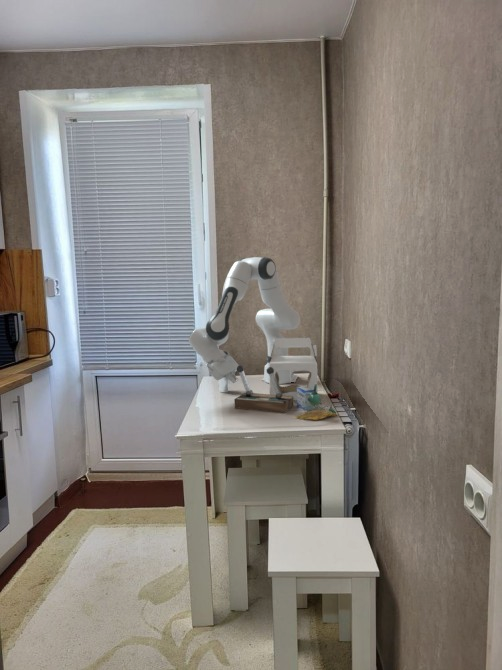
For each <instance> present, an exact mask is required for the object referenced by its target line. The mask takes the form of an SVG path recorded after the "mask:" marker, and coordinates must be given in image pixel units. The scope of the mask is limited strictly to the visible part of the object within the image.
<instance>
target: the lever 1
mask: <svg viewBox="0 0 502 670" xmlns="http://www.w3.org/2000/svg"><path fill="white" fill-rule="evenodd" d="M238 365H239V364H238ZM244 370H245V367H244V366H243V365H239V366H238V367H237V371H236V372H237V373H238V374H239V375H240V378H241V382H242V384H243V387H244V388H243V389H244V390H245V392H244V393H245V394H246V396H248V397H249V396H251V395H252V394H253V393H254V392H253V390H251V388H250V385H249V382H248V380H247V376H246V374H245V371H244Z"/></svg>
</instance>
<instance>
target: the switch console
mask: <svg viewBox="0 0 502 670" xmlns="http://www.w3.org/2000/svg"><path fill="white" fill-rule="evenodd" d="M245 393H246V392H243V393H242V394H241V395H239V396H236V398H234V409H243V410H252V411H261V412H273V413H275V412H276V413H283V414H285V413H287V412H288V411H289V410H290V409H291V408H292V407H293V406H294V400H293V396H282V397H281V398H280V399H277V398H276V395H270V393H268V394H267V393H255V392H253V394H252V395H251V396H249V397H248V396H246V394H245Z"/></svg>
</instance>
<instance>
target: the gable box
mask: <svg viewBox="0 0 502 670" xmlns="http://www.w3.org/2000/svg"><path fill="white" fill-rule="evenodd" d="M277 348H288V349H291V348H292V349H293V348H295V349H297V348H298V349H299V348H300V349H301V348H303V349H309V352H310V354H309V355H290V356H276V349H277ZM269 356H272V357H271V358H270V362H269V367H272V368H273V369H274V372H273V373H274V375H275V378H276V381H277V384H278V387H279V389H280V392H281V393H282V394H283V396H293V401H297V387H301V385H297V384H291V385H285V386H281V385H280V384H279V376H278V373H277V371H279V370H290V371H294V372H301V371H302V372H303V371H307V372H309V374H308V377H307V383H308V384H307V385H306V387H308V388H310V389H312V390H314V385H315V384H317V385H318V360H317V357H318V351H317V344H313V343H312V340H311V338H310V337H285V338H276V339H275V344H274V346H272V345H270V351H269ZM268 384H269V386H268V387H269V394H270V395H276V392H275V390H274V387H273V384H272V381H271V379H270V376H269V383H268ZM316 392H317V393H318V387H317V388H316Z"/></svg>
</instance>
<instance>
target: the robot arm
mask: <svg viewBox="0 0 502 670" xmlns="http://www.w3.org/2000/svg"><path fill="white" fill-rule="evenodd" d="M250 281H257V284H258V288H259V292H260V297H261V300H262V302H263V303H264V305H266V306H267V307H269V308H264V309H260V310H258V311H257V312H256V315H255V323H256V325H257V327H259V328H260V329H261V330H262V332H263V334H264V336H265V339H266V345H267V346H266V347H267V355H266V362H267V363H266V364H265V365H264V373H263V374H264V375H263V376H264V377H262V378H261V381H263V382H265V383H268V384H269V374H268V373H267V368H268V367H269V362H270V358H271V357H272V356H269V351H270V345H272V346H274V344H275V339H276V338H286V337H285V336H283V334H282V333H281V331H291V330H296V329H298V327H299V326H300V324H301V316H300V314H299V312H298V311H297V310H295V309H294V308H293V307H292V306H291V305H290V304H289V303H288V302H287V300H286V299H285V296H284V293H283V289H282V285H281V281H280V277H279V275H278V272H277V269H276V264H275V261H274V260H273V259H272V258H269V257H260V256H253V257H247V258H245V257H243V258H240V259H238V260H237V261H235V262H234V263H233V264H232V265H231V267H230V269H229V271H228V272H227V276H226V278H225V281H224V283H223V288H222V293H221V295H222V296H221V299H220V301H219V304H218V306H217V309H216V311H215V313H214V314H213V315H212V316H211V318H209V320H208V321H207V323H206V325H205V327H197V328H195V329H194V330H193V331H192V332H191V333H190V335H189V337H188V343H189V345H190V346H191V348H192V349H193V350H194V351H195V353H196V354H197V355H199V356H200V357H201V358H202V361H204V362H205V364H206V367H207V369H208V370H207V371H209V374H210V375H211V376H212V377H213V379H214V380H216V381H218V380H220V379H222V378H224V377H226V378H227V379H229V380H230V382H231V383H233V384H235V383H237V382H238V381H239V378H238V377H237V376H236V372H238V371H237V367H238V366H239V364H238V363H237V361H236V360H235V359H234V357H233V356H231V354H230V352H228V351H227V350H223V349H220V348H219V347H220V346H222V345H224V344H225V343H226V342H227V341H228V340H229V336H230V323H229V320H230V317H231V314H232V311H233V308H234V306H235V304H236V303H237V302H240V301H242V300H243V298H244V297H245V295H246V292H247V291H248V288H249V284H250ZM276 356H291V354H289V348H277V349H276ZM294 372H295V371H290V370H279V371H277V373H278V376H279V385H286V384H290V383H291V382H294V383H296V382H297V380H298V376H299V375H298V374H295V373H294ZM296 379H297V380H296ZM291 384H292V383H291Z"/></svg>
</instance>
